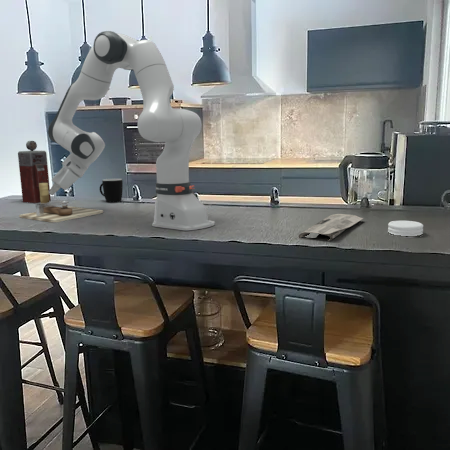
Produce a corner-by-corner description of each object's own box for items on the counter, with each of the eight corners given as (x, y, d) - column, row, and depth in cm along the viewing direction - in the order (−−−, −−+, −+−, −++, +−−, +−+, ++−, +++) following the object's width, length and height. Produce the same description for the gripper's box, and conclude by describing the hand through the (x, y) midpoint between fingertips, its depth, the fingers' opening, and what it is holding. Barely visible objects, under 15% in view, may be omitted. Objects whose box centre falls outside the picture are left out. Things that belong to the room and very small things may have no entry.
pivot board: (103, 212, 188) (103, 210, 188) (54, 222, 170) (53, 220, 170) (69, 208, 200) (68, 206, 200) (19, 217, 181) (19, 214, 181)
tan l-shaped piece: (75, 213, 180) (72, 184, 178) (64, 215, 176) (61, 186, 174) (48, 209, 189) (46, 182, 187) (37, 211, 185) (34, 183, 183)
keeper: (74, 214, 181) (73, 200, 180) (52, 218, 173) (51, 204, 172) (58, 211, 186) (57, 198, 185) (36, 215, 178) (35, 202, 177)
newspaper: (329, 219, 170) (329, 210, 170) (365, 222, 165) (365, 212, 164) (297, 240, 140) (297, 228, 139) (338, 244, 134) (339, 232, 133)
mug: (127, 200, 220) (126, 178, 218) (115, 203, 212) (113, 180, 210) (107, 199, 225) (105, 178, 223) (94, 202, 217) (92, 180, 215)
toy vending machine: (38, 203, 215) (32, 141, 210) (22, 202, 221) (16, 141, 215) (54, 200, 223) (48, 140, 217) (38, 199, 228) (33, 140, 223)
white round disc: (427, 233, 144) (428, 222, 144) (415, 239, 137) (416, 228, 136) (395, 229, 151) (396, 218, 150) (382, 235, 144) (382, 223, 143)
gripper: (62, 160, 197) (40, 186, 194) (71, 164, 179) (46, 191, 176) (74, 170, 200) (52, 195, 197) (84, 175, 182) (60, 202, 179)
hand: (50, 194), depth 187 cm, fingers closed
